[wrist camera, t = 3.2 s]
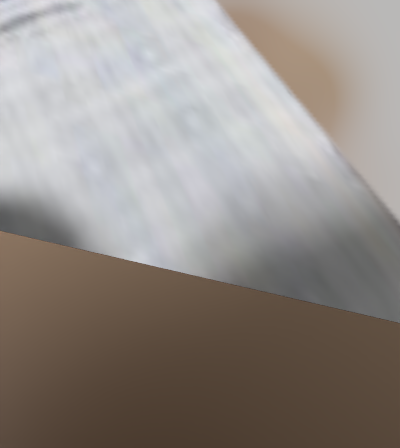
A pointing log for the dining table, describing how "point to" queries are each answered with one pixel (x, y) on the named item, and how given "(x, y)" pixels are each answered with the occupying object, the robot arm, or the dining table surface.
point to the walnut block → (181, 360)
